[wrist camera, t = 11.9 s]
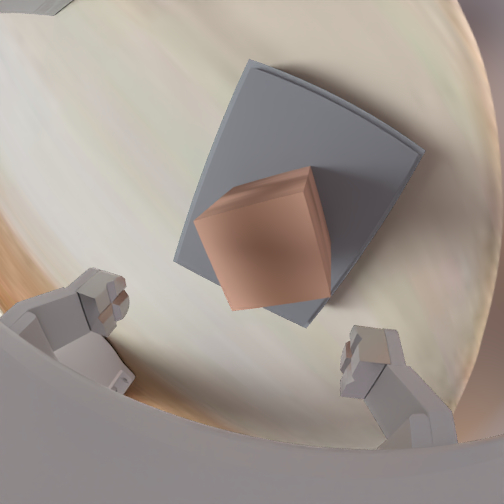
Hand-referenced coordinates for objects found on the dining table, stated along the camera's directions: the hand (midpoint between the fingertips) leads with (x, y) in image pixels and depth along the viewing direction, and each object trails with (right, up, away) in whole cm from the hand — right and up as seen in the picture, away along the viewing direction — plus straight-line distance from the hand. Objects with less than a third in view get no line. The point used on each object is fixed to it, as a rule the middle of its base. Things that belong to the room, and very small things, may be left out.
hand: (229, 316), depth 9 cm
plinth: (+4, +6, +12) cm, 14 cm away
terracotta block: (+3, +4, +8) cm, 10 cm away
